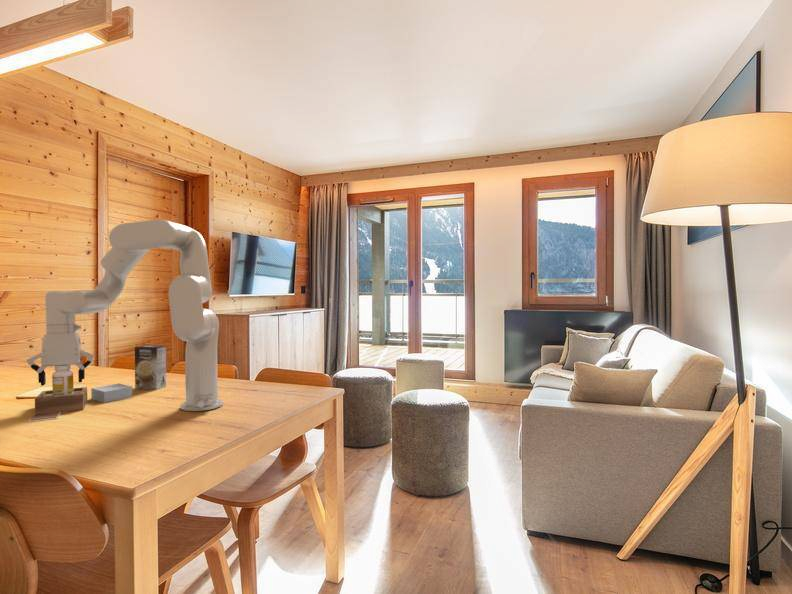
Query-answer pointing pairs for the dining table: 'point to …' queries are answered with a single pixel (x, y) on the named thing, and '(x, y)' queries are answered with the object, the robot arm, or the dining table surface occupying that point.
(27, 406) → the dining table surface
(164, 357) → the coffee box
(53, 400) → the walnut tray
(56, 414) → the swatch
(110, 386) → the slate block
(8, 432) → the dining table surface
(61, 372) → the supplement bottle
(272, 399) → the dining table surface
